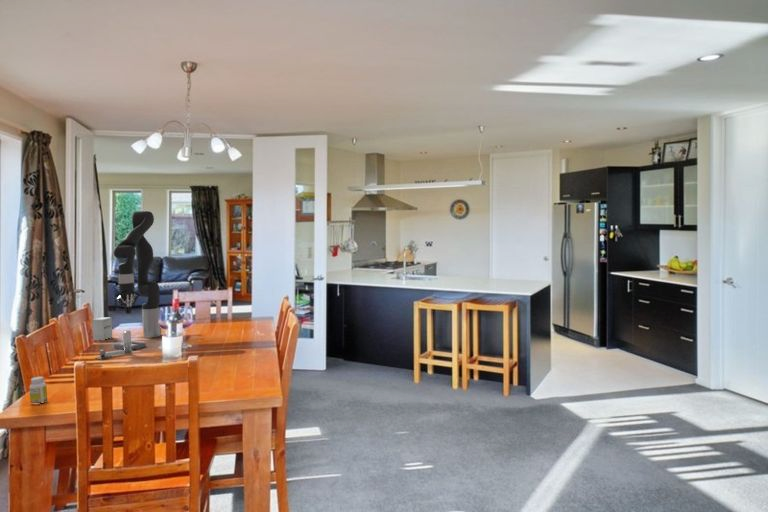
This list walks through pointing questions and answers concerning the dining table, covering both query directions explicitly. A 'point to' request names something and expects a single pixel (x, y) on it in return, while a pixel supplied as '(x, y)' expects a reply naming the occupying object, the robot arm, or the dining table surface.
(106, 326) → the supplement box
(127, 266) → the robot arm
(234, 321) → the dining table surface
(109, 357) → the hinge foot
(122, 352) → the cable arm
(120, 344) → the server lid
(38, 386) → the supplement bottle
